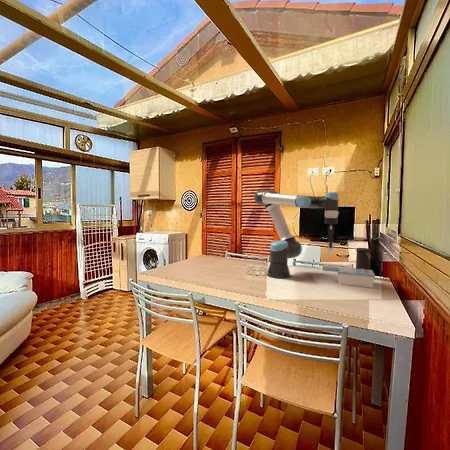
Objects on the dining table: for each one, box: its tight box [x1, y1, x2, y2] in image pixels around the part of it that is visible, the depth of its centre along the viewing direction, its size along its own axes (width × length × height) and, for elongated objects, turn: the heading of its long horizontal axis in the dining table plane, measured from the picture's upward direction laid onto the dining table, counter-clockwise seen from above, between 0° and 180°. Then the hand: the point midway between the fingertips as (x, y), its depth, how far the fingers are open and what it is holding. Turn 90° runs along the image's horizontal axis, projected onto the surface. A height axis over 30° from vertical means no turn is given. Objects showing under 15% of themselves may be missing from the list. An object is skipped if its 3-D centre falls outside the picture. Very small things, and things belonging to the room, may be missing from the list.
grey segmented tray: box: [322, 265, 376, 278], centre depth 151 cm, size 28×13×2 cm, turn 66°
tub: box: [337, 273, 375, 289], centre depth 149 cm, size 18×12×7 cm, turn 66°
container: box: [355, 247, 372, 270], centre depth 164 cm, size 9×9×20 cm
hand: (330, 251), depth 154 cm, fingers open, 13 cm apart
